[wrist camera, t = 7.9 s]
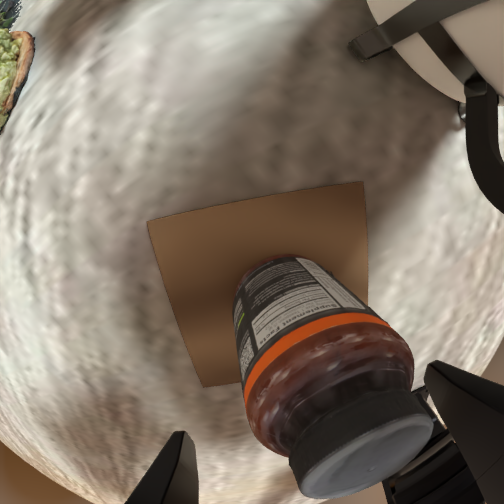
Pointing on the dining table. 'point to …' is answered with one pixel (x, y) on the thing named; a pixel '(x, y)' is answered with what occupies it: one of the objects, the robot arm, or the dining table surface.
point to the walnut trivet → (252, 260)
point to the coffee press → (452, 67)
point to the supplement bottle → (324, 378)
